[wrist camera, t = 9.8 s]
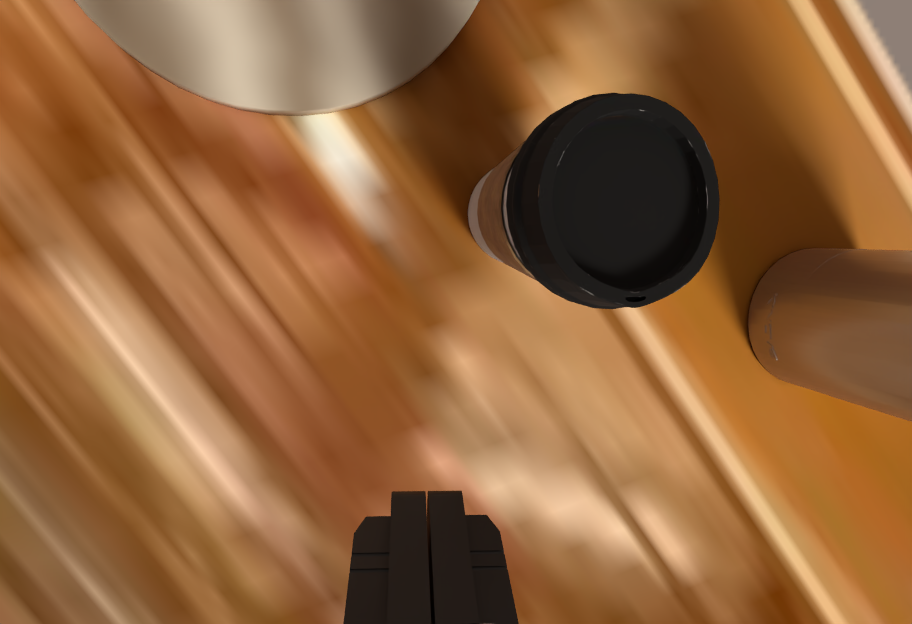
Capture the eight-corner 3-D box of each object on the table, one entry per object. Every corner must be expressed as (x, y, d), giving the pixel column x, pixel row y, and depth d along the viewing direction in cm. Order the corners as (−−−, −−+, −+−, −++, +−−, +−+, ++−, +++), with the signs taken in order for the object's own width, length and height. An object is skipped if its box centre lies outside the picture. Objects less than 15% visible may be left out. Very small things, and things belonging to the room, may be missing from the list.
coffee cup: (448, 287, 38) (528, 321, 23) (444, 141, 36) (525, 78, 22) (582, 282, 39) (735, 309, 25) (581, 141, 38) (741, 83, 24)
